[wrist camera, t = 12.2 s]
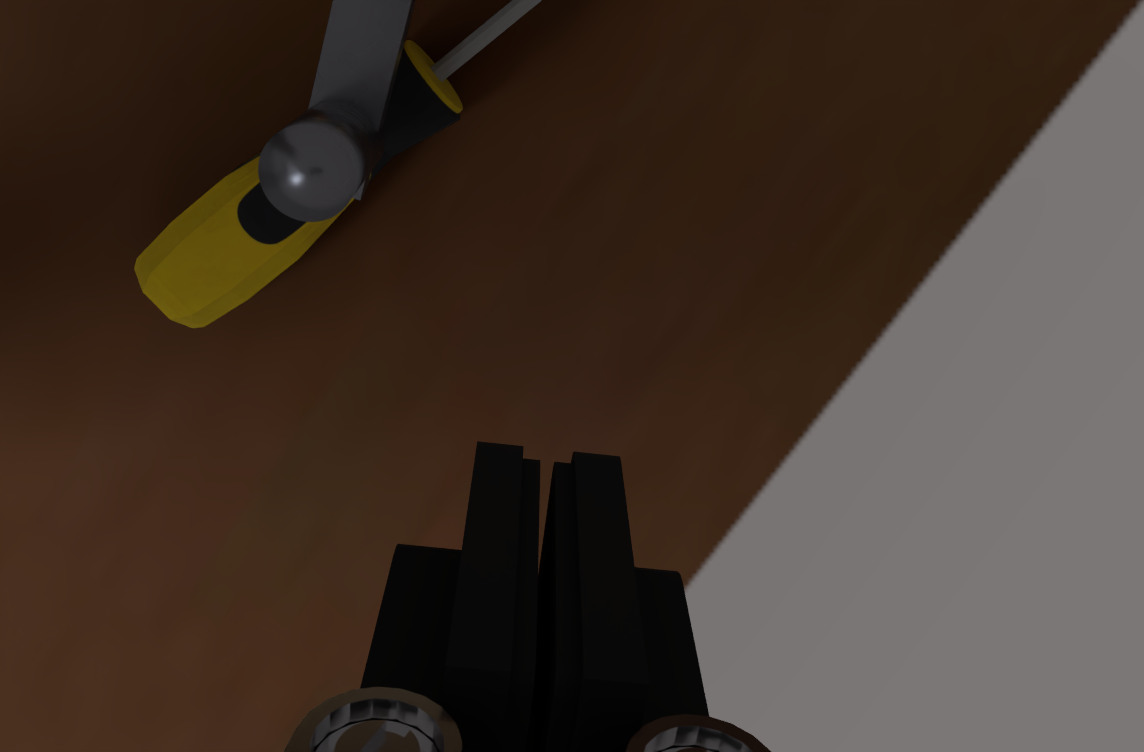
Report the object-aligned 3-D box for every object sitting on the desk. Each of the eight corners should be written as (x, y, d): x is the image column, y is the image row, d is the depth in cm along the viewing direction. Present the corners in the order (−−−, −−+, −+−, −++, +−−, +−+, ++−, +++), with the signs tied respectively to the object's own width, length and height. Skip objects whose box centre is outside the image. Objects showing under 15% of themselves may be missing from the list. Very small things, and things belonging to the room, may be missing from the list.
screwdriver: (184, 352, 35) (975, -279, 28) (108, 275, 33) (913, -402, 27) (214, 317, 38) (931, -258, 31) (144, 245, 37) (874, -367, 30)
